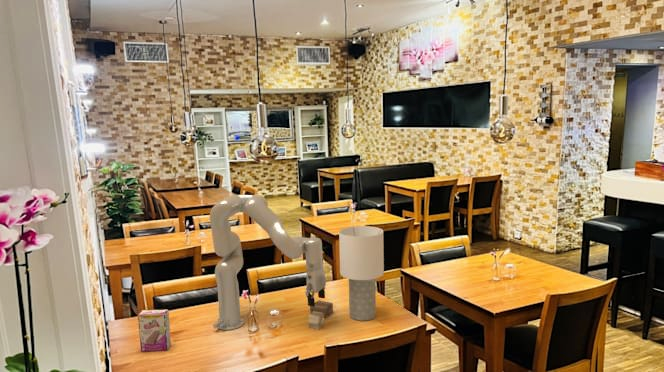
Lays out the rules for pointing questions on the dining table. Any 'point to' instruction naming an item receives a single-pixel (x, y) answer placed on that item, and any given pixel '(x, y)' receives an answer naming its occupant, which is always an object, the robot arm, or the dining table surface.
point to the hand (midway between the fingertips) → (316, 301)
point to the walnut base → (322, 308)
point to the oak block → (316, 320)
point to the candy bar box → (154, 330)
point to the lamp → (361, 267)
